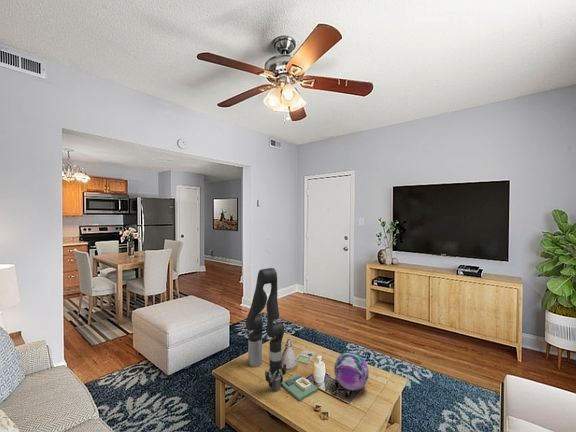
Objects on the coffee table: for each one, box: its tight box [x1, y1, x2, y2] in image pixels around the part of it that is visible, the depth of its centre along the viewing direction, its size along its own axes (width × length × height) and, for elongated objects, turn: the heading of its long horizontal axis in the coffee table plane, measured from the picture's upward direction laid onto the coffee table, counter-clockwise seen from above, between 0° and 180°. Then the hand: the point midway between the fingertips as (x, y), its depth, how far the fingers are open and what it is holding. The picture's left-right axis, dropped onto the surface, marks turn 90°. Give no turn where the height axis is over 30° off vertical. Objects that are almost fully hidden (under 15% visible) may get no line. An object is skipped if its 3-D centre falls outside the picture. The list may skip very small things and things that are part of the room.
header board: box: [281, 373, 319, 402], centre depth 162 cm, size 18×14×4 cm
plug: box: [271, 374, 282, 392], centre depth 161 cm, size 5×4×8 cm
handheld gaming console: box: [296, 350, 317, 365], centre depth 195 cm, size 10×2×15 cm
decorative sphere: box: [333, 351, 370, 391], centre depth 162 cm, size 20×20×20 cm
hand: (275, 384), depth 161 cm, fingers open, 6 cm apart
